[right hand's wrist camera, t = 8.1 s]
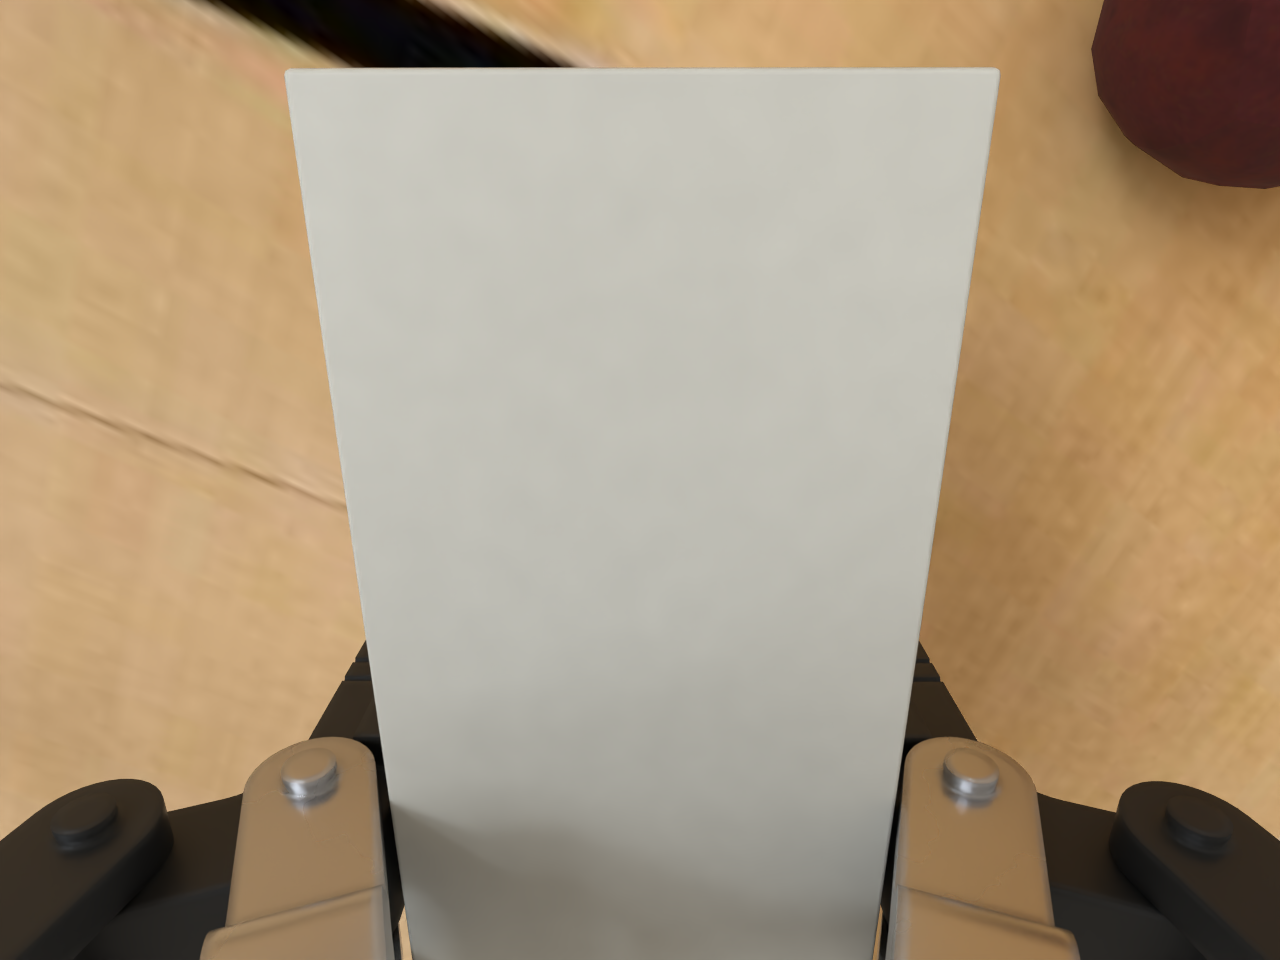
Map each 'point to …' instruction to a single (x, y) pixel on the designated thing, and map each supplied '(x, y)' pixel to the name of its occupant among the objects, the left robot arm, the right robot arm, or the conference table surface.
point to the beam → (642, 481)
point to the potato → (1195, 85)
